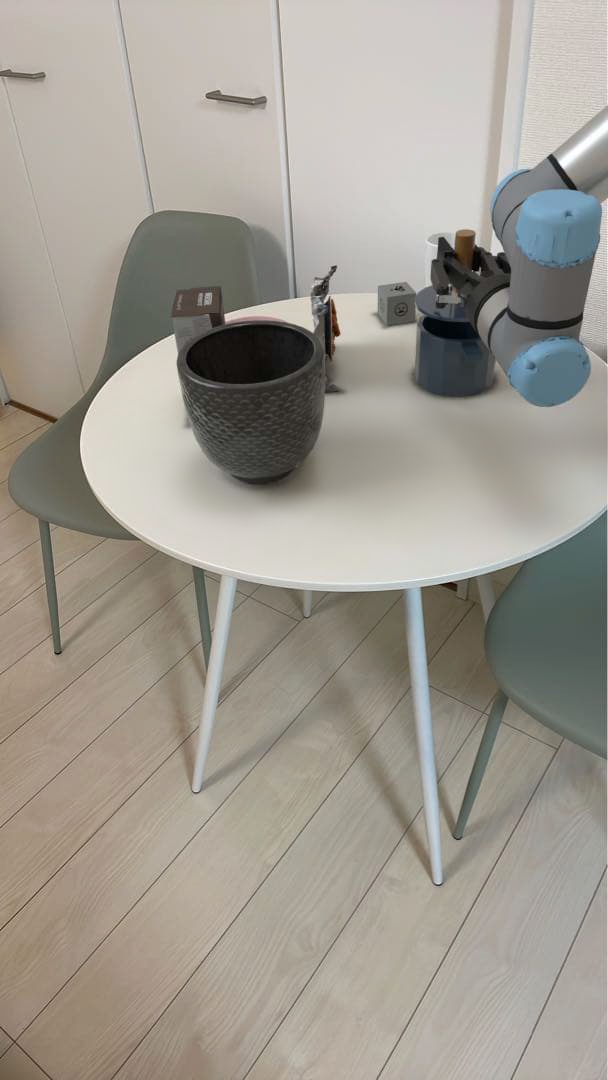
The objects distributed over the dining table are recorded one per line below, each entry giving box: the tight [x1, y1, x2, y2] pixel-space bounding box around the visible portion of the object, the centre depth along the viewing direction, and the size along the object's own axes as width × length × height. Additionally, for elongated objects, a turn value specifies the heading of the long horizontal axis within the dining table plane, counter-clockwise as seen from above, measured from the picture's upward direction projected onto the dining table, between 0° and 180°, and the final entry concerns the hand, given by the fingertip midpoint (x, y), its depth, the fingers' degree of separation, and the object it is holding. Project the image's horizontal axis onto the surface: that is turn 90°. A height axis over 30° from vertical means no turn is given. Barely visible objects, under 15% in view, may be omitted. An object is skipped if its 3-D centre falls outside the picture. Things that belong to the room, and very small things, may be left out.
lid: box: [415, 228, 477, 322], centre depth 101 cm, size 12×12×10 cm
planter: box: [176, 320, 326, 485], centre depth 92 cm, size 17×17×16 cm
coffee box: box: [170, 285, 226, 355], centre depth 104 cm, size 9×6×16 cm
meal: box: [310, 265, 342, 393], centre depth 112 cm, size 15×4×13 cm, turn 0°
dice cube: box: [377, 281, 417, 327], centre depth 127 cm, size 5×5×5 cm
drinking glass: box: [423, 231, 457, 289], centre depth 118 cm, size 7×7×15 cm
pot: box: [414, 314, 497, 397], centre depth 109 cm, size 11×17×8 cm
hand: (452, 245), depth 104 cm, fingers closed on lid, 3 cm apart
